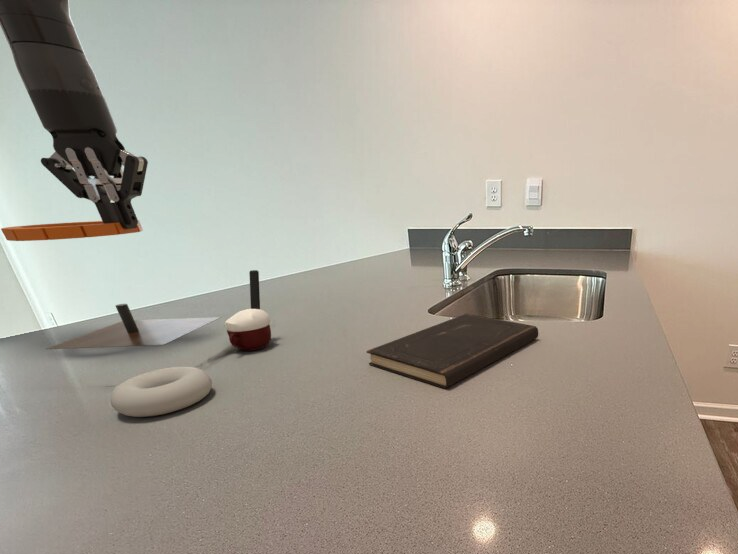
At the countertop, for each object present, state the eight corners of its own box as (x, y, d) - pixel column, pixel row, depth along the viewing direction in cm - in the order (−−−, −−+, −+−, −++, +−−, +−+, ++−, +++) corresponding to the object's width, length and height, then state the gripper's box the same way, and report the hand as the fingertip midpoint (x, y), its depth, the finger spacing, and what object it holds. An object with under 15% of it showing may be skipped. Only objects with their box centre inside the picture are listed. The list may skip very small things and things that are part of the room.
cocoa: (241, 359, 65) (215, 283, 59) (218, 353, 67) (192, 279, 62) (294, 340, 72) (275, 271, 67) (271, 335, 75) (252, 269, 70)
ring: (-25, 242, 56) (-32, 230, 55) (73, 232, 69) (68, 222, 68) (89, 238, 56) (83, 226, 56) (163, 228, 70) (160, 218, 69)
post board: (49, 357, 67) (27, 319, 64) (126, 327, 82) (112, 295, 79) (167, 353, 68) (151, 315, 65) (223, 324, 82) (212, 292, 79)
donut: (143, 391, 55) (97, 428, 46) (133, 368, 54) (83, 401, 45) (227, 381, 57) (197, 414, 48) (219, 359, 56) (187, 388, 47)
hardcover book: (369, 365, 61) (366, 350, 60) (467, 325, 78) (466, 313, 77) (447, 390, 53) (446, 374, 52) (538, 339, 70) (538, 326, 69)
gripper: (139, 96, 59) (185, 225, 66) (40, 98, 58) (98, 228, 66) (95, 85, 52) (151, 229, 60) (-18, 87, 51) (54, 232, 59)
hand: (123, 228), depth 63 cm, fingers closed on ring, 1 cm apart
